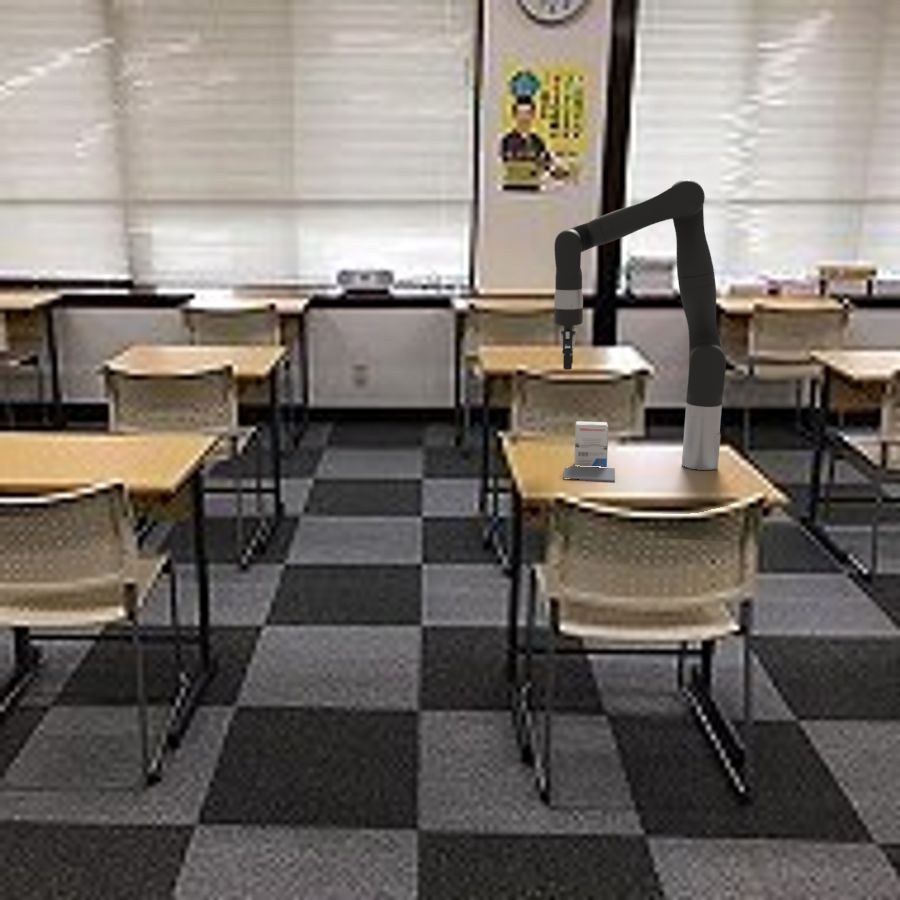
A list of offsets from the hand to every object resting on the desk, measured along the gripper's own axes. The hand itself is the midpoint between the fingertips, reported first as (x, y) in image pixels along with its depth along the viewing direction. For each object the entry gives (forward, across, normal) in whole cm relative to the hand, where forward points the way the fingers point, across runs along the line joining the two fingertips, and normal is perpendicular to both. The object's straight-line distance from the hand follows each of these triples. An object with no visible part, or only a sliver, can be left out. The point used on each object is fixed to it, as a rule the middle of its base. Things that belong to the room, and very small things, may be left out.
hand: (568, 366), depth 282 cm
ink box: (+26, -7, -6) cm, 28 cm away
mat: (+26, -16, -6) cm, 31 cm away
